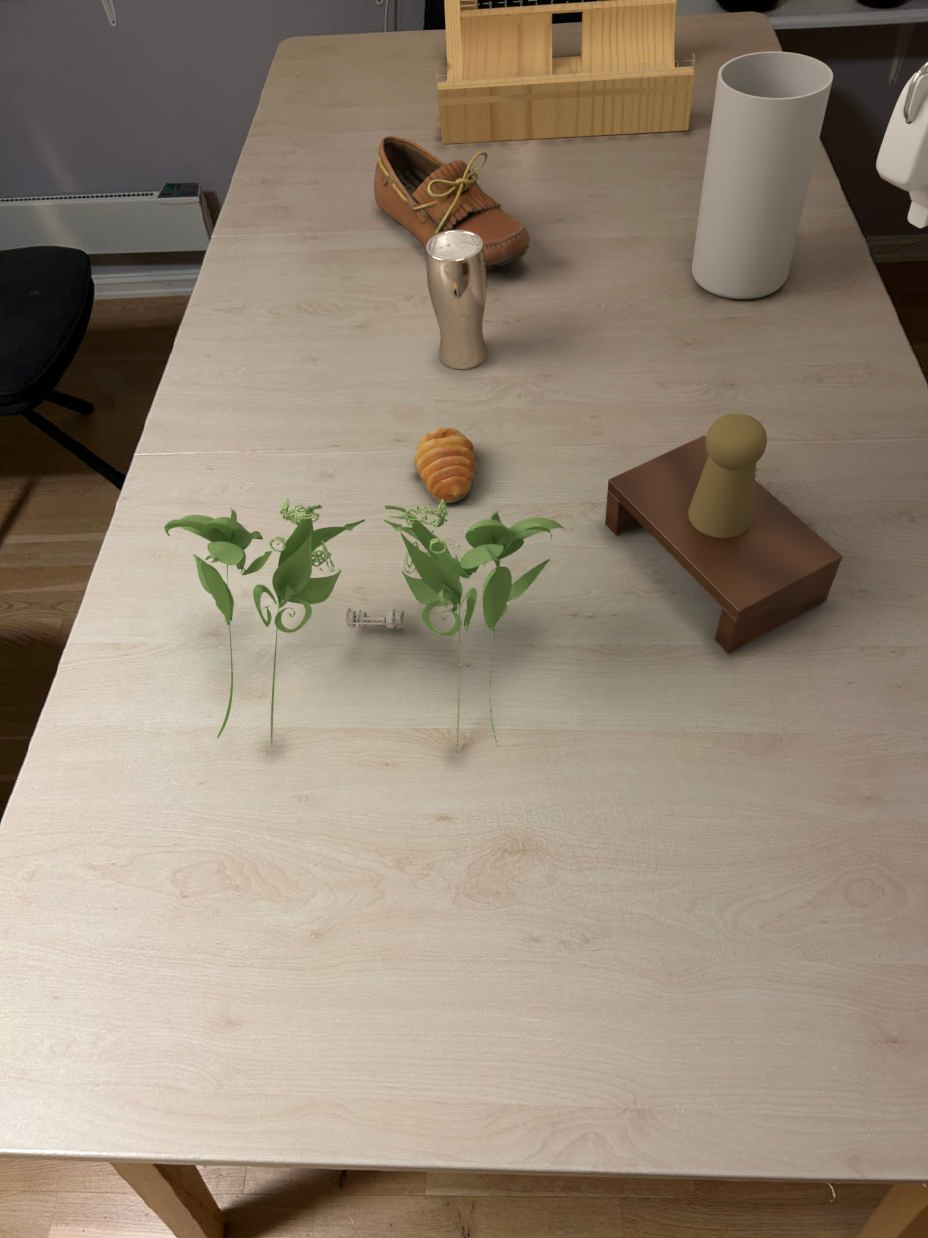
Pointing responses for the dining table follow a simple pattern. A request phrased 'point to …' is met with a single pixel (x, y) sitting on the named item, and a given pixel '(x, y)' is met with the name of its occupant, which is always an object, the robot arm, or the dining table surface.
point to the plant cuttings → (433, 568)
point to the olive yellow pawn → (728, 477)
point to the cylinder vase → (758, 171)
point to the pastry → (446, 464)
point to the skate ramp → (561, 72)
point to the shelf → (727, 546)
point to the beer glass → (458, 296)
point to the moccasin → (444, 200)
